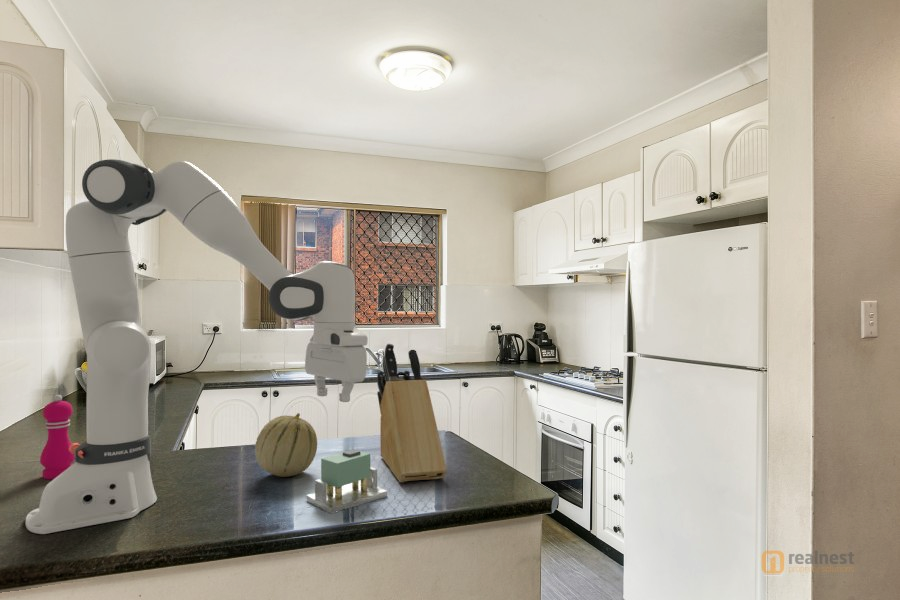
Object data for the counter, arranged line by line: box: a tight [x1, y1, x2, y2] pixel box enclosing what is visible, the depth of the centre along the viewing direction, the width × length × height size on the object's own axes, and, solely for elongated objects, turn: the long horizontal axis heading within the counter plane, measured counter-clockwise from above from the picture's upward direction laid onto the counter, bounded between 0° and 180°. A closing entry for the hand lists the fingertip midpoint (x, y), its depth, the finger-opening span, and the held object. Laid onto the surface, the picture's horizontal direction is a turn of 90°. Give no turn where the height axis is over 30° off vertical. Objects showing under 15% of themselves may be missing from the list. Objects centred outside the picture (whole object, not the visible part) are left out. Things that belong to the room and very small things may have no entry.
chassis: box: [305, 466, 388, 514], centre depth 117 cm, size 14×10×5 cm
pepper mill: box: [39, 394, 75, 480], centre depth 135 cm, size 7×7×20 cm
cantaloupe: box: [254, 412, 318, 478], centre depth 134 cm, size 15×15×15 cm
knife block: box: [376, 343, 448, 483], centre depth 142 cm, size 11×35×31 cm, turn 18°
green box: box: [320, 449, 371, 488], centre depth 117 cm, size 9×6×6 cm, turn 140°
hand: (333, 398), depth 119 cm, fingers open, 8 cm apart
